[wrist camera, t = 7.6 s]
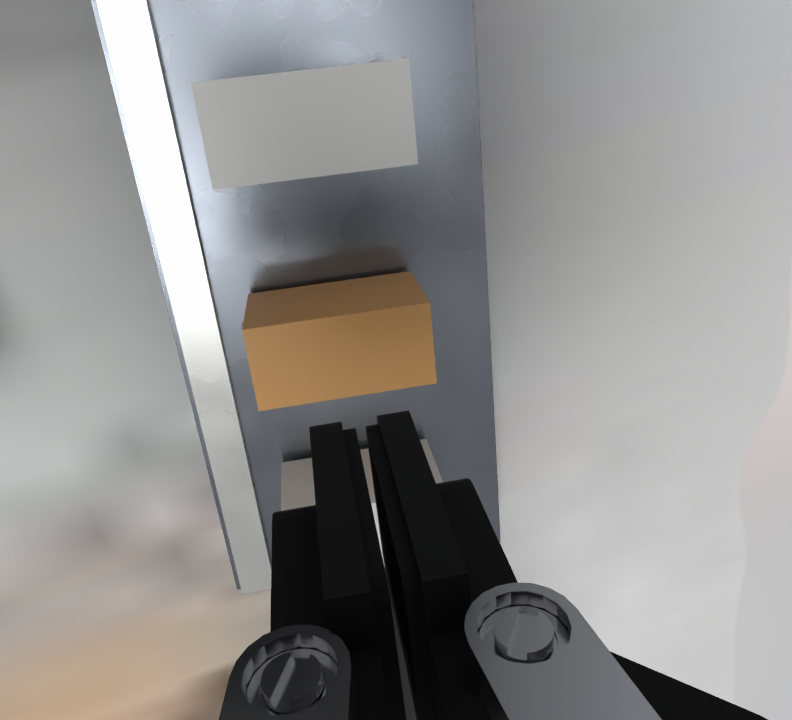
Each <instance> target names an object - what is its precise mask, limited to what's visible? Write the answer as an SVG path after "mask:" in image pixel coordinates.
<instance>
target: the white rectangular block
mask: <svg viewBox="0 0 792 720" xmlns="http://www.w3.org/2000/svg"><path fill="white" fill-rule="evenodd" d="M420 442H421V444H422V447H423V450H424V452H425V455H426V458H427V461H428V463H429V466H430V469H431V471H432V474H433V477H434V480H435V482H436V484H437V483H443V481H442V478H441V475H440V473H439V470H438V468H437V465H436V462H435V460H434V457H433V454H432V452H431V449H430V447H429V444H428V441H427V439H422V440H420ZM360 452H361V457H362V461H363V466H364V471H365V476H366V481H367V486H368V490H369V495H370V500H371V505H372V510H373V515H374V519H375V524H376V529H377V534H378V539H379V544H380V548H381V553H382V545H381V538H380V531H379V523H378V516H377V509H376V501H375V494H374V486H373V479H372V472H371V464H370V457H369V450H368V448H367V449H361V450H360ZM312 505H316V503H315V491H314V479H313V467H312V458H306V459H300V460H294V461H288V462H282V463H281V511H284V510H289V509H295V508H301V507H306V506H312ZM382 558H383V553H382ZM383 563H384V559H383ZM384 566H385V565H384Z"/></svg>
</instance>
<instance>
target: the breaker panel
mask: <svg viewBox="0 0 792 720" xmlns="http://www.w3.org/2000/svg"><path fill="white" fill-rule="evenodd" d="M91 3H92V7H93V11H94V15H95V19H96V23H97V27H98V31H99V35H100V39H101V43H102V47H103V51H104V55H105V59H106V63H107V67H108V71H109V75H110V79H111V83H112V87H113V91H114V95H115V99H116V103H117V107H118V111H119V115H120V119H121V123H122V127H123V131H124V136H125V140H126V144H127V148H128V152H129V156H130V160H131V164H132V168H133V172H134V176H135V180H136V184H137V188H138V192H139V196H140V200H141V204H142V208H143V212H144V216H145V220H146V224H147V228H148V232H149V236H150V240H151V244H152V248H153V252H154V256H155V260H156V264H157V268H158V272H159V276H160V280H161V284H162V288H163V292H164V296H165V300H166V304H167V308H168V312H169V316H170V320H171V325H172V329H173V333H174V337H175V341H176V345H177V349H178V353H179V357H180V361H181V365H182V369H183V373H184V377H185V381H186V385H187V389H188V393H189V397H190V401H191V405H192V409H193V413H194V417H195V421H196V425H197V429H198V433H199V437H200V441H201V445H202V449H203V453H204V457H205V461H206V465H207V469H208V473H209V477H210V481H211V485H212V489H213V493H214V497H215V501H216V505H217V509H218V514H219V518H220V522H221V526H222V530H223V534H224V538H225V542H226V546H227V550H228V554H229V558H230V562H231V566H232V570H233V574H234V578H235V582H236V586H237V590H238V589H241V591H242V594H247V593H252V592H258V591H263V590H269V589H271V561H272V514H273V512H278V511H281V463H282V462H288V461H294V460H300V459H306V458H312V455H311V443H310V431H309V427H311V426H317V425H323V424H329V423H335V422H342V428H343V430H345V429H351V428H356V432H357V437H358V442H359V447H360V450H361V449H367V448H368V442H367V435H366V426H369V425H375V424H377V416H378V415H384V414H390V413H396V412H402V411H409V412H410V414H411V417H412V420H413V422H414V425H415V428H416V431H417V433H418V436H419V439H420V440H422V439H427V441H428V444H429V447H430V449H431V452H432V454H433V457H434V460H435V462H436V465H437V468H438V470H439V473H440V475H441V478H442V481H443V482H448V481H454V480H460V479H465V478H469V479H470V480H471V482H472V483H473V485H474V487H475V490H476V492H477V494H478V496H479V498H480V501H481V503H482V505H483V507H484V509H485V512H486V514H487V516H488V518H489V521H490V523H491V525H492V527H493V529H494V532H495V534H496V536H497V538H498V540H499V542H500V523H499V503H498V483H497V463H496V443H495V423H494V403H493V383H492V363H491V343H490V323H489V303H488V283H487V263H486V243H485V223H484V203H483V183H482V163H481V143H480V123H479V103H478V83H477V63H476V43H475V23H474V3H473V0H91ZM406 58H409V63H410V75H411V87H412V98H413V110H414V122H415V133H416V145H417V157H418V164H416V165H409V166H401V167H393V168H385V169H377V170H369V171H361V172H353V173H345V174H337V175H329V176H321V177H313V178H305V179H297V180H289V181H281V182H273V183H265V184H257V185H249V186H241V187H233V188H225V189H217V190H213V187H212V182H211V178H210V173H209V168H208V163H207V158H206V153H205V148H204V143H203V139H202V134H201V129H200V124H199V119H198V114H197V109H196V104H195V100H194V95H193V90H192V85H191V82H198V81H207V80H216V79H225V78H234V77H244V76H253V75H262V74H271V73H280V72H289V71H298V70H307V69H316V68H325V67H334V66H343V65H352V64H361V63H370V62H379V61H388V60H397V59H406ZM407 271H411V273H412V274H413V276H414V278H415V279H416V281H417V282H418V284H419V286H420V287H421V289H422V290H423V292H424V294H425V295H426V297H427V298H428V300H429V302H430V308H431V319H432V331H433V343H434V354H435V366H436V377H437V383H436V384H430V385H423V386H417V387H410V388H404V389H398V390H391V391H385V392H378V393H372V394H366V395H359V396H353V397H346V398H340V399H334V400H327V401H321V402H315V403H308V404H302V405H295V406H289V407H283V408H276V409H270V410H263V411H258V406H257V401H256V397H255V392H254V387H253V382H252V377H251V372H250V367H249V362H248V358H247V353H246V348H245V343H244V338H243V333H242V326H243V320H244V315H245V309H246V304H247V298H248V294H250V293H258V292H265V291H272V290H279V289H286V288H293V287H300V286H307V285H315V284H322V283H329V282H336V281H343V280H350V279H357V278H364V277H372V276H379V275H386V274H393V273H400V272H407Z"/></svg>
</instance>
